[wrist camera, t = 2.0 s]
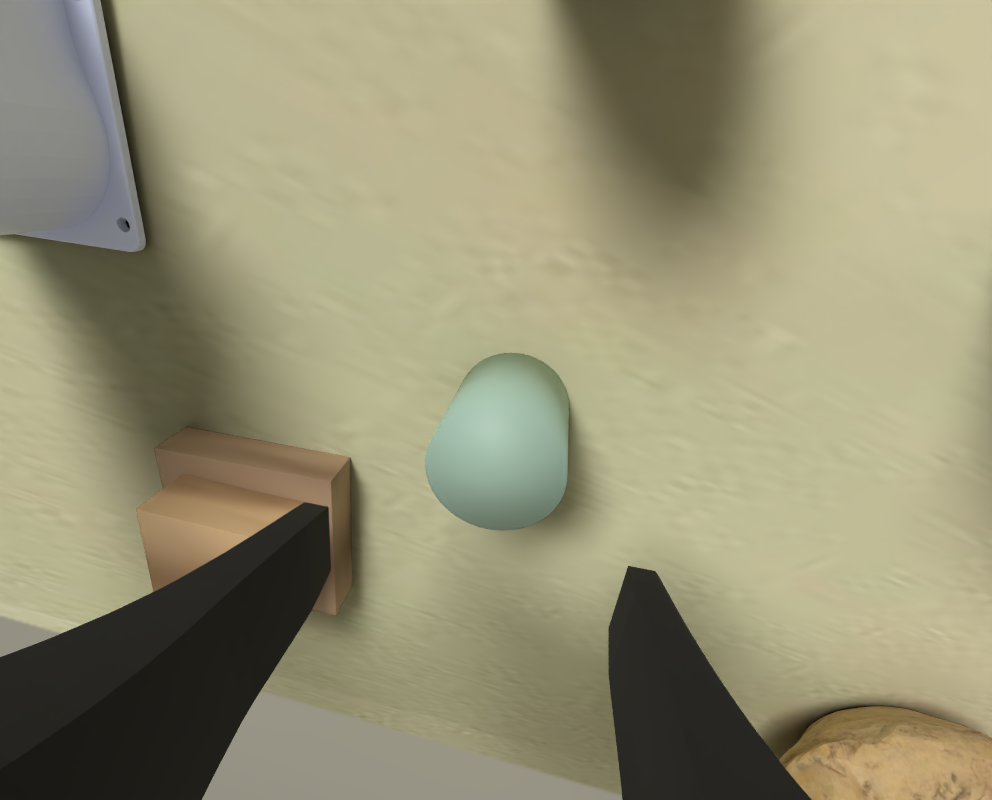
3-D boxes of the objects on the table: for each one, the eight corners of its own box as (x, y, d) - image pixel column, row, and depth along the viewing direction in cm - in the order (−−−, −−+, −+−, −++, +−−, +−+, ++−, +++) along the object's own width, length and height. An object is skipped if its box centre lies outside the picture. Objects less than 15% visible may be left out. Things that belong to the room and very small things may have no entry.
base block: (194, 421, 23) (154, 447, 21) (355, 450, 22) (330, 481, 20) (217, 548, 27) (184, 582, 24) (356, 577, 26) (336, 615, 24)
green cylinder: (464, 344, 19) (429, 396, 14) (578, 363, 18) (580, 422, 14) (454, 443, 21) (421, 516, 16) (558, 461, 20) (554, 541, 16)
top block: (182, 473, 21) (136, 509, 19) (312, 504, 21) (280, 544, 19) (197, 572, 24) (158, 614, 22) (313, 601, 23) (285, 646, 21)
